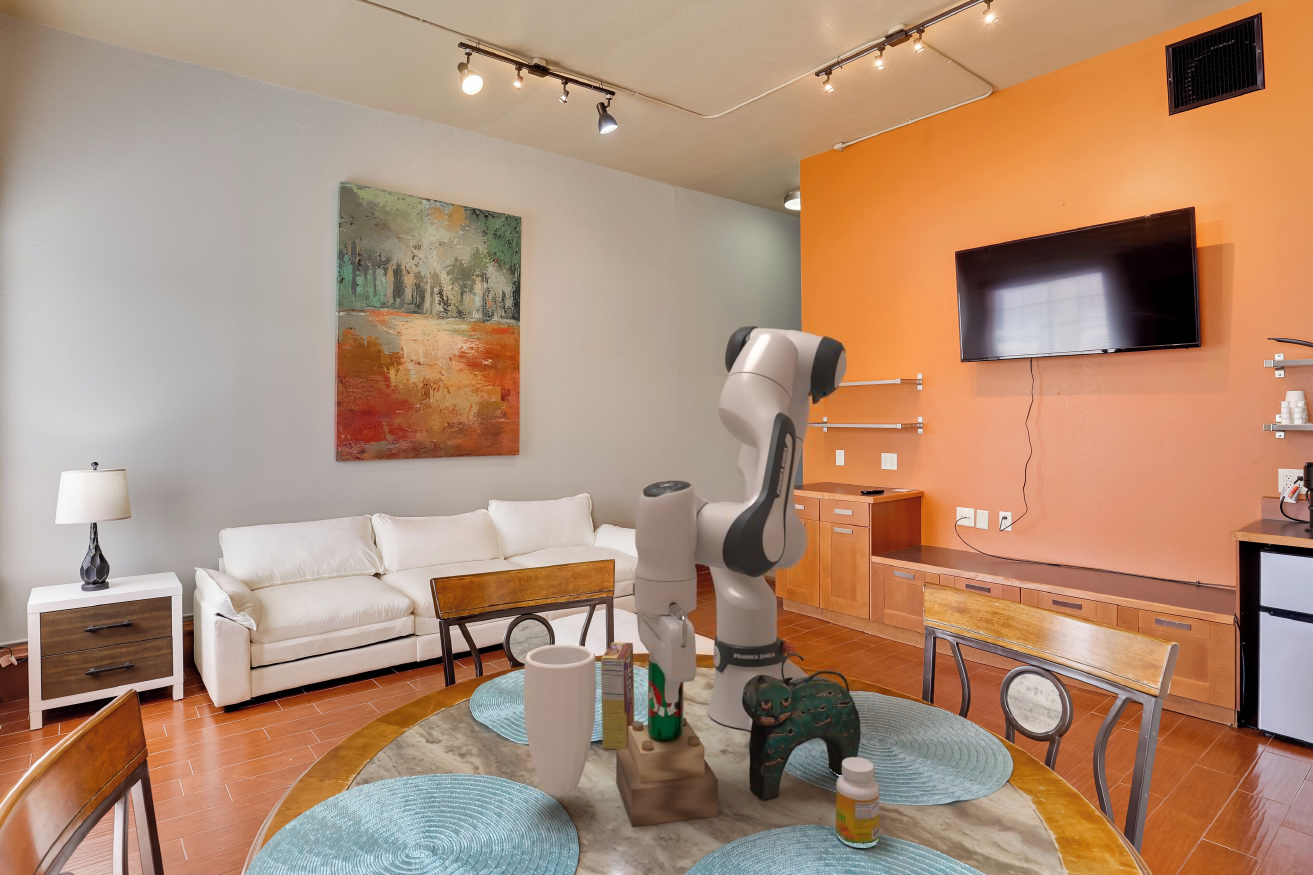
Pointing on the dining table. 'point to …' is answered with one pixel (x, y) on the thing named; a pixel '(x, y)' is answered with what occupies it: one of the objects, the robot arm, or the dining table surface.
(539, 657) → the cup
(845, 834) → the supplement bottle
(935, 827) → the dining table surface
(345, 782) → the dining table surface
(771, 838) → the dining table surface
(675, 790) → the tower base
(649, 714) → the soda can
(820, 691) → the ceramic cat
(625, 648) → the candy box
